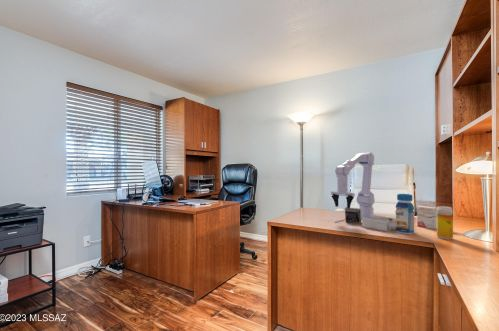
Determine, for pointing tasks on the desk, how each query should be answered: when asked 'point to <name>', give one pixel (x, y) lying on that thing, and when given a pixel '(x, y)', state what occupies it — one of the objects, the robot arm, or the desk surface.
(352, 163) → the robot arm
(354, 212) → the electrical switch
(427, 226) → the ink cartridge box
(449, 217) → the white lidded yellow container
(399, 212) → the blue pill bottle
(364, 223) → the bracket
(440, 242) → the desk surface
